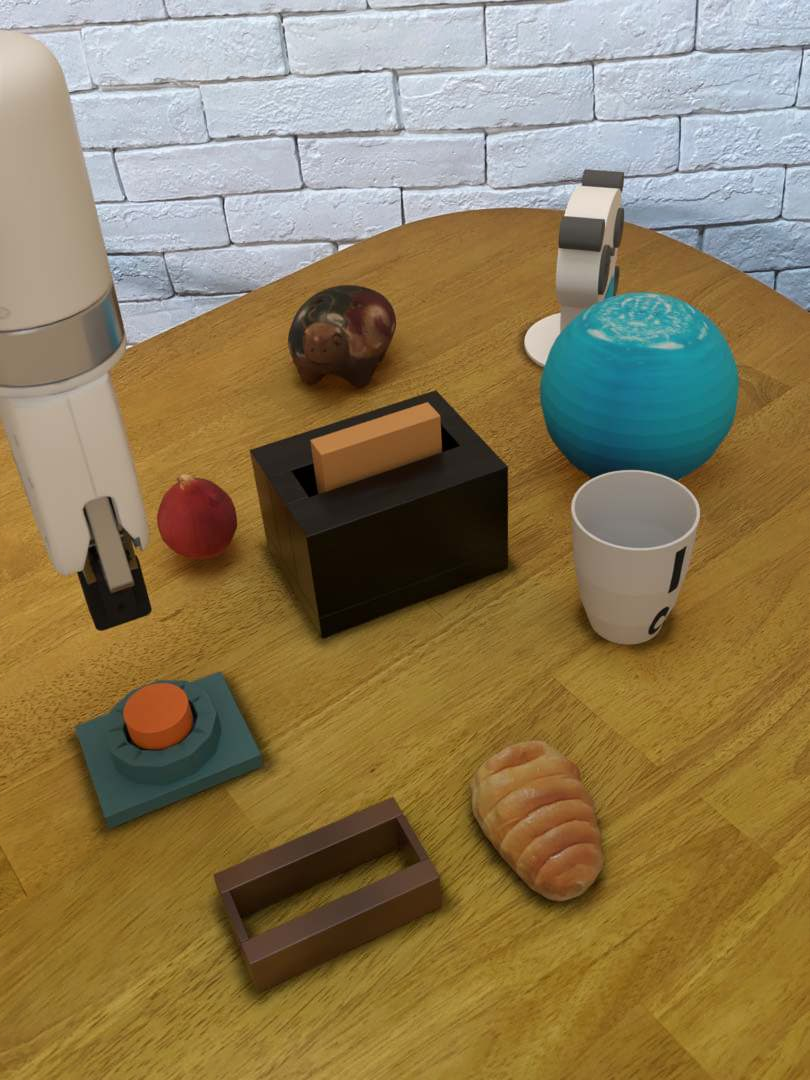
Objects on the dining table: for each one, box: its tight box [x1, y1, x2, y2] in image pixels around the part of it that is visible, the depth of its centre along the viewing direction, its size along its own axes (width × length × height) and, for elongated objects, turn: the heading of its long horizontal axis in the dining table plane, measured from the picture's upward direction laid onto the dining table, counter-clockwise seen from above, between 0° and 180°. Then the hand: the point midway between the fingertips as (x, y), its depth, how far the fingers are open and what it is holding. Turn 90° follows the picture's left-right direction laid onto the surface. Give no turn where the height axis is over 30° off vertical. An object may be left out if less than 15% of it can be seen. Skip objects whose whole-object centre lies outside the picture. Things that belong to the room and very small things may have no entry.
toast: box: [310, 402, 442, 494], centre depth 81 cm, size 9×2×10 cm, turn 116°
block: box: [74, 671, 264, 830], centre depth 72 cm, size 10×8×3 cm
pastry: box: [469, 739, 604, 902], centre depth 65 cm, size 9×7×4 cm
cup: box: [570, 470, 701, 646], centre depth 76 cm, size 8×8×10 cm
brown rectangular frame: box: [213, 796, 443, 993], centre depth 63 cm, size 11×6×3 cm, turn 116°
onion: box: [156, 473, 238, 561], centre depth 84 cm, size 6×6×8 cm
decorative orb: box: [539, 291, 740, 482], centre depth 87 cm, size 15×15×15 cm
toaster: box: [249, 389, 509, 640], centre depth 82 cm, size 15×11×10 cm
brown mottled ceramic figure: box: [287, 284, 397, 389], centre depth 103 cm, size 10×15×8 cm, turn 172°
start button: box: [123, 683, 193, 750], centre depth 70 cm, size 4×4×2 cm
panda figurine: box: [524, 168, 625, 369], centre depth 101 cm, size 12×11×15 cm
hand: (121, 613), depth 64 cm, fingers closed
